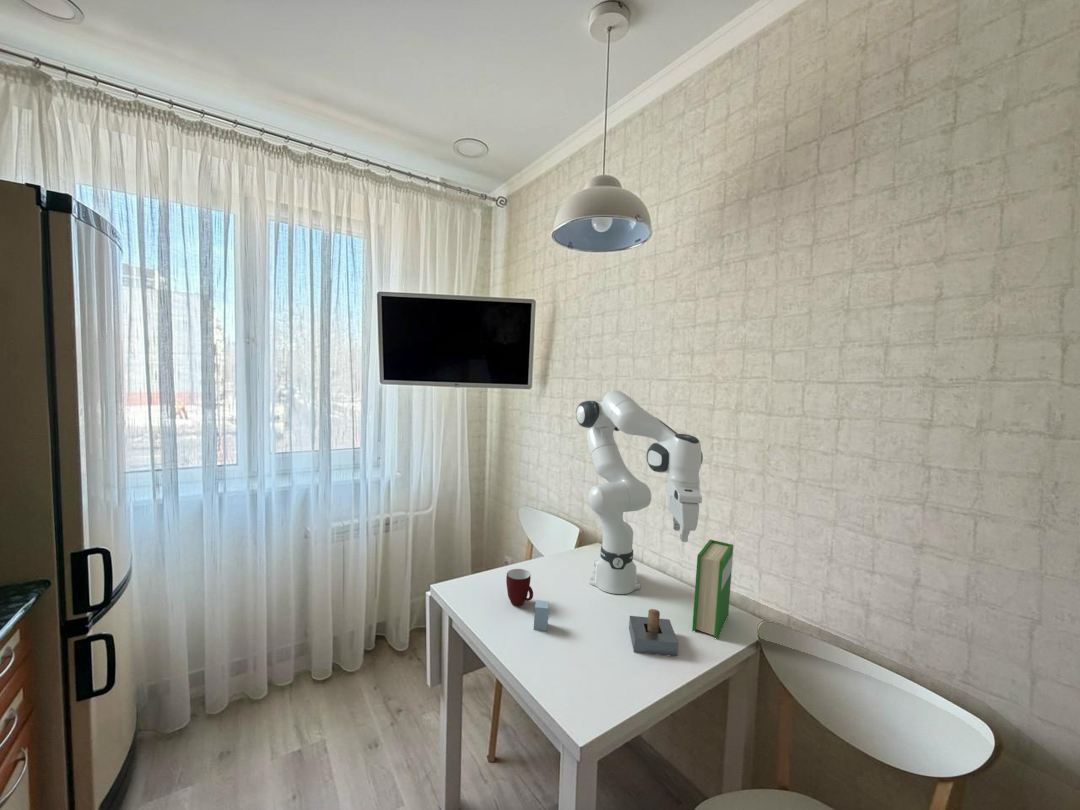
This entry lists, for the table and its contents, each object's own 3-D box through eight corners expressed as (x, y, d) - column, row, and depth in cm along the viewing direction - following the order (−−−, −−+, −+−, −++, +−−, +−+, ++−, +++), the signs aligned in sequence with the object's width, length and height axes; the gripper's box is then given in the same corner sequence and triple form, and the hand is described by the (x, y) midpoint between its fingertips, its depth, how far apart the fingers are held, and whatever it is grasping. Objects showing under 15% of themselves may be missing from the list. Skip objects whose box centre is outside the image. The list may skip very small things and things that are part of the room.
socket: (628, 628, 132) (629, 615, 132) (668, 632, 131) (669, 619, 131) (633, 652, 120) (634, 638, 120) (677, 656, 119) (678, 642, 119)
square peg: (534, 622, 133) (536, 600, 133) (547, 623, 132) (548, 601, 132) (533, 629, 129) (534, 607, 129) (546, 631, 129) (548, 608, 128)
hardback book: (717, 640, 128) (723, 561, 127) (692, 631, 133) (697, 555, 131) (728, 615, 143) (733, 544, 142) (705, 607, 147) (710, 539, 146)
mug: (540, 604, 144) (541, 575, 143) (526, 614, 137) (527, 584, 137) (514, 594, 150) (516, 566, 149) (500, 603, 143) (501, 574, 142)
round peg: (645, 637, 128) (647, 608, 127) (656, 639, 127) (658, 609, 127) (647, 644, 124) (649, 614, 124) (658, 645, 124) (660, 615, 124)
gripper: (665, 481, 138) (662, 523, 138) (680, 497, 117) (676, 547, 118) (685, 482, 137) (682, 524, 138) (703, 499, 117) (700, 549, 117)
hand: (679, 535), depth 128 cm, fingers open, 8 cm apart
